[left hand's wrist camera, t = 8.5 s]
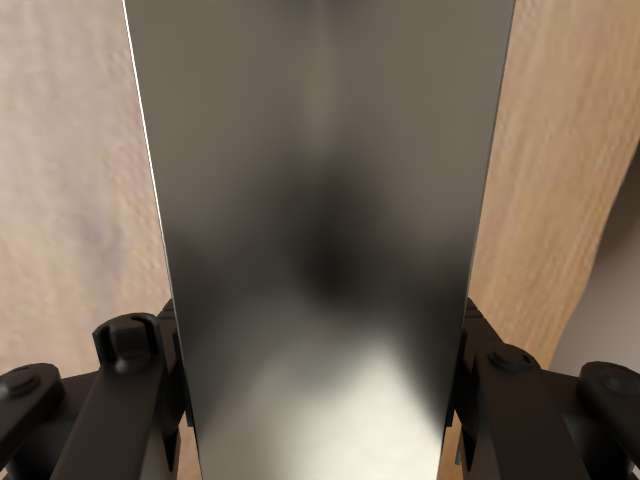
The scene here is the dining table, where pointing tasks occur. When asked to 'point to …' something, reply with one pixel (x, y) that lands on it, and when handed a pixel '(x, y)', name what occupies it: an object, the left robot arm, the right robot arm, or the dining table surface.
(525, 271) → the dining table surface
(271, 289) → the bar
